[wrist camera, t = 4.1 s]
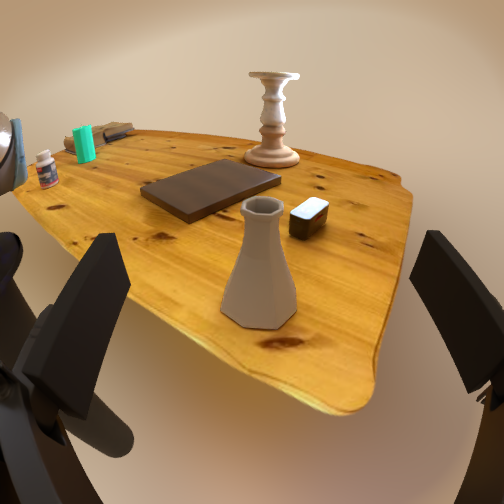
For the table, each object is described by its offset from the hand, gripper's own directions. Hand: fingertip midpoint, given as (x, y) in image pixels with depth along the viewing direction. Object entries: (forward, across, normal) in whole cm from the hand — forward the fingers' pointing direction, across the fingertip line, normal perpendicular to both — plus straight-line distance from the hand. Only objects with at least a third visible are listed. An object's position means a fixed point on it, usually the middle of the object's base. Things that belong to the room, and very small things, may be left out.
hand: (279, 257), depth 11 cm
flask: (+10, 0, -13) cm, 16 cm away
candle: (+65, -48, -12) cm, 82 cm away
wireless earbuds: (+24, +7, -13) cm, 28 cm away
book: (+89, -56, -12) cm, 106 cm away
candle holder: (+53, +5, -12) cm, 55 cm away
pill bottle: (+47, -50, -12) cm, 70 cm away
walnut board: (+37, -7, -12) cm, 39 cm away
